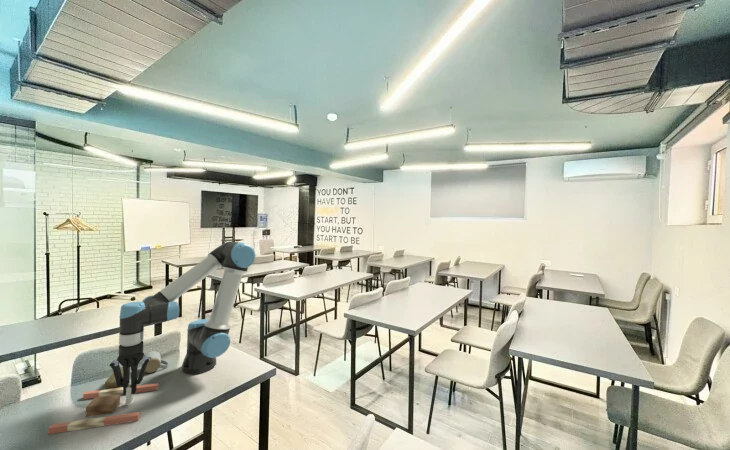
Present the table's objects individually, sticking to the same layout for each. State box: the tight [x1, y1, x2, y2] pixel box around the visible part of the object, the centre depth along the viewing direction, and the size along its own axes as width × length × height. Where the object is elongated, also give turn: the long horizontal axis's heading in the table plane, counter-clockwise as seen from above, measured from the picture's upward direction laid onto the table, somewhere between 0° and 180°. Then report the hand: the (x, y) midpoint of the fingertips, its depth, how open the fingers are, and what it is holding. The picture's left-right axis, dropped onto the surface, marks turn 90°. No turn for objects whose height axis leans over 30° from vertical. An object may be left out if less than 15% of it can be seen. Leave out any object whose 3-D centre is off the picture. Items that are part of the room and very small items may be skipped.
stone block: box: [104, 369, 123, 389], centre depth 127 cm, size 6×12×5 cm, turn 23°
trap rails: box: [47, 382, 159, 435], centre depth 112 cm, size 25×22×2 cm
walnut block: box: [85, 394, 121, 418], centre depth 110 cm, size 8×6×4 cm
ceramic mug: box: [141, 350, 169, 374], centre depth 142 cm, size 11×8×8 cm
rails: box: [67, 387, 123, 432], centre depth 111 cm, size 10×22×2 cm, turn 20°
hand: (129, 402), depth 114 cm, fingers closed
